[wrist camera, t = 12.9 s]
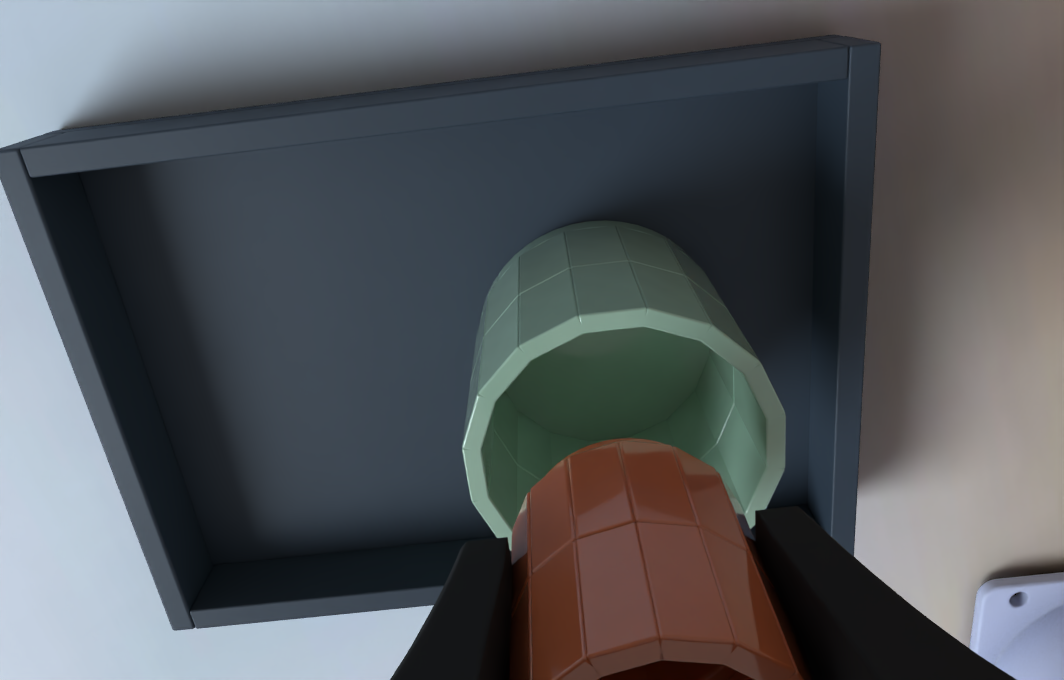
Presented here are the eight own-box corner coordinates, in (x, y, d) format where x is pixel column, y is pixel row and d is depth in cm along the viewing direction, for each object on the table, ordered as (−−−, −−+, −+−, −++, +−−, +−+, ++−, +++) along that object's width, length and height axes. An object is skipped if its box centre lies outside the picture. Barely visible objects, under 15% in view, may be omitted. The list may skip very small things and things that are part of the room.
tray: (836, 34, 17) (882, 42, 15) (821, 506, 22) (854, 564, 20) (52, 130, 18) (-13, 151, 16) (205, 569, 23) (172, 631, 21)
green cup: (715, 205, 18) (787, 291, 13) (721, 425, 21) (785, 571, 16) (462, 234, 18) (440, 330, 13) (496, 450, 21) (488, 600, 16)
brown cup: (731, 409, 13) (833, 619, 8) (736, 596, 14) (825, 852, 10) (499, 435, 13) (489, 655, 9) (528, 617, 14) (531, 878, 10)
